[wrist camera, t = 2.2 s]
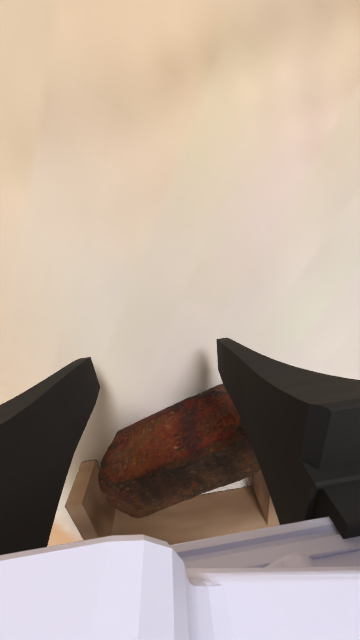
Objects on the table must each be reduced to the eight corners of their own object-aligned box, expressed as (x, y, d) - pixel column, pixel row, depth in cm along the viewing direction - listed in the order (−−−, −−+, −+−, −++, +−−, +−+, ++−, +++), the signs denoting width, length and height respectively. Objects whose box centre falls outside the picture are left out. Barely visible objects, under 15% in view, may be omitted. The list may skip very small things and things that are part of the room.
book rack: (263, 491, 20) (312, 609, 13) (106, 518, 19) (77, 655, 13) (267, 432, 17) (332, 546, 10) (81, 462, 16) (26, 604, 10)
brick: (225, 375, 15) (251, 429, 10) (243, 409, 16) (273, 469, 12) (109, 431, 16) (87, 501, 11) (135, 458, 17) (125, 531, 13)
